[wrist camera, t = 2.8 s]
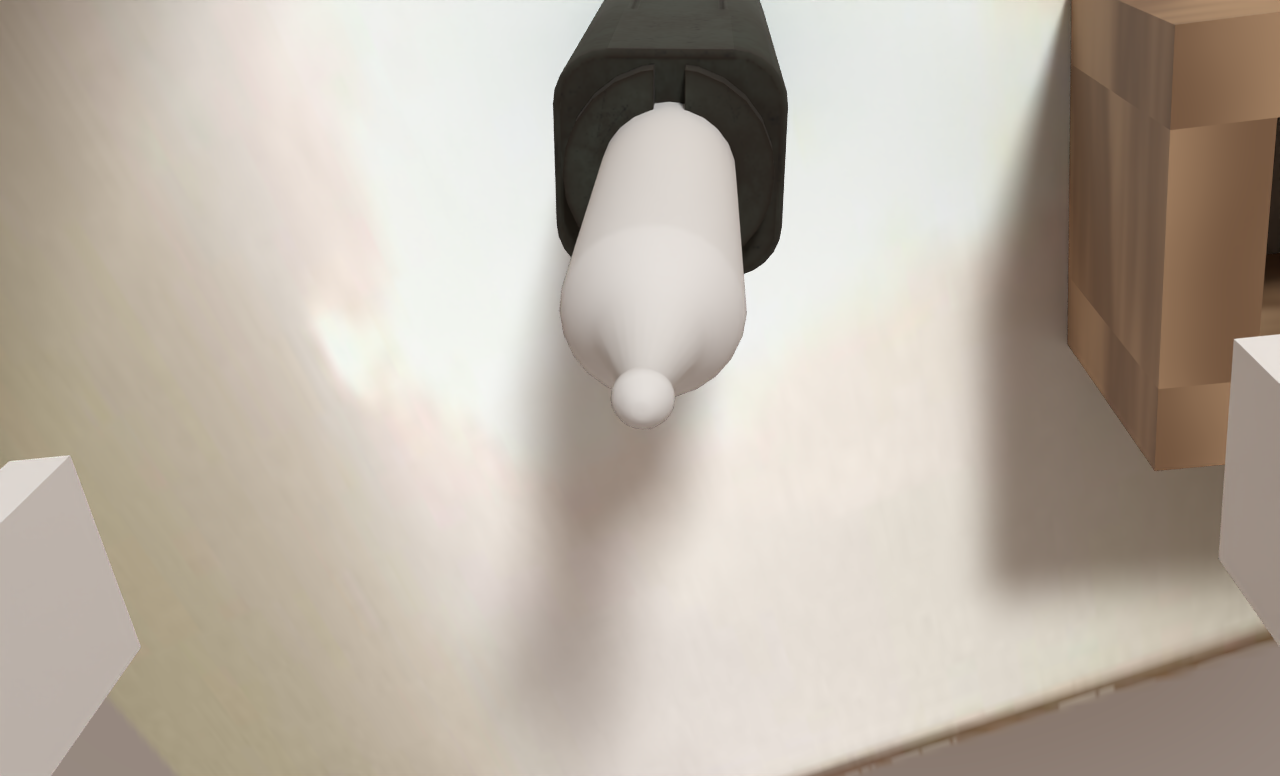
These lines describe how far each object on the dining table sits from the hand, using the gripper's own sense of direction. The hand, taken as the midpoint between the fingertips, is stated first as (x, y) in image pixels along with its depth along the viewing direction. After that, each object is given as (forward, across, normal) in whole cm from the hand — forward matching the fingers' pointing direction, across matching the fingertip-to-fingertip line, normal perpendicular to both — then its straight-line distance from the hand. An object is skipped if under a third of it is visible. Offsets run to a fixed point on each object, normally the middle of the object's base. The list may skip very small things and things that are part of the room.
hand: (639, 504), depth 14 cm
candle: (+27, 0, 0) cm, 27 cm away
